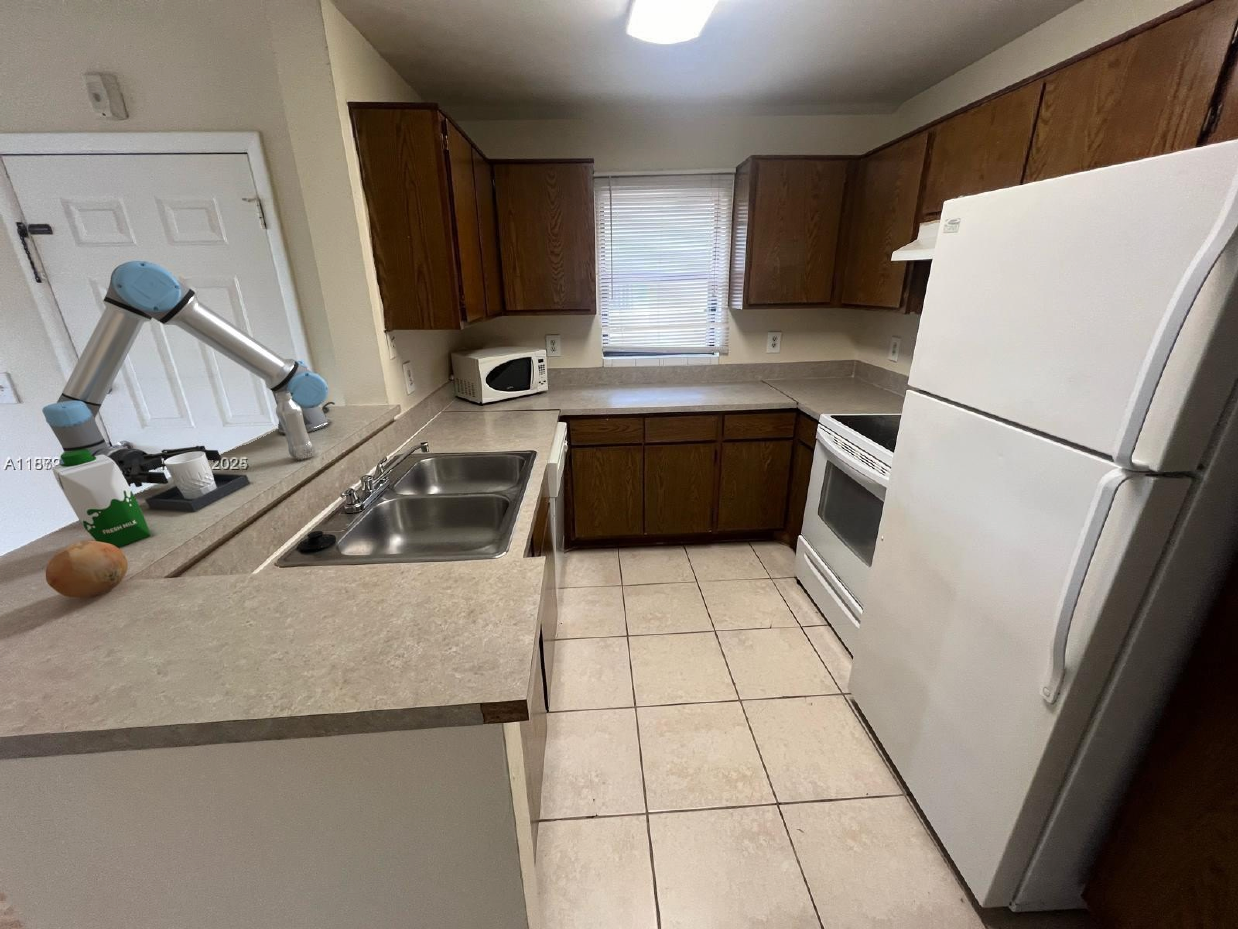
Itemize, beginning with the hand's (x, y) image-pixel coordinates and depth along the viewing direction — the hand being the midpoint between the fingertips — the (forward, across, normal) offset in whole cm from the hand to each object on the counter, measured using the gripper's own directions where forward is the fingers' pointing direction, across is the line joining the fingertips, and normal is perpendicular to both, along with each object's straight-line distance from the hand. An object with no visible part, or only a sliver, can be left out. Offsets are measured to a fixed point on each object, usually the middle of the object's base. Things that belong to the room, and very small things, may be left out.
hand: (193, 466), depth 117 cm
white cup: (-1, 0, -8) cm, 8 cm away
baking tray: (-1, 0, -8) cm, 8 cm away
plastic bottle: (+7, -25, -8) cm, 27 cm away
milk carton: (+2, +20, -8) cm, 22 cm away
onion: (+17, +35, -8) cm, 40 cm away
